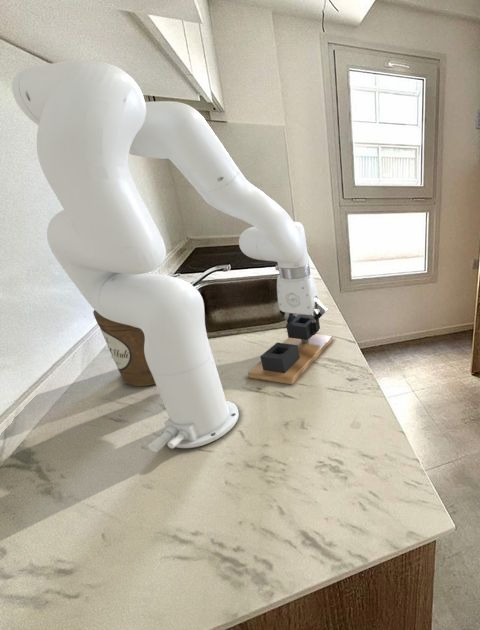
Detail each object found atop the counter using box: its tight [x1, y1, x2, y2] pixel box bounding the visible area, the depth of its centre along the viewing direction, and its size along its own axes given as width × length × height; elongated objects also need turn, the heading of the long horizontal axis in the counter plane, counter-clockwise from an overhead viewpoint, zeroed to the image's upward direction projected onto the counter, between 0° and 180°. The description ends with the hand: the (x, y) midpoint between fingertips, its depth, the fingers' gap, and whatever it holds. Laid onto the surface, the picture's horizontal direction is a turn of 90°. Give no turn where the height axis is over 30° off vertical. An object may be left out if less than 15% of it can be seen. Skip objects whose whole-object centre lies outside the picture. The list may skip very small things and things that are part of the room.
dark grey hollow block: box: [285, 314, 321, 340], centre depth 93 cm, size 7×6×4 cm
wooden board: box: [247, 333, 334, 385], centre depth 89 cm, size 22×12×4 cm, turn 168°
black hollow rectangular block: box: [259, 342, 300, 373], centre depth 84 cm, size 7×6×4 cm
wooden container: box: [92, 309, 156, 387], centre depth 80 cm, size 15×15×22 cm
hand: (304, 331), depth 94 cm, fingers closed on dark grey hollow block, 6 cm apart
